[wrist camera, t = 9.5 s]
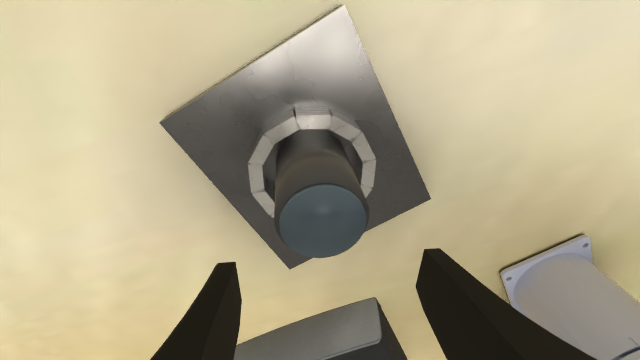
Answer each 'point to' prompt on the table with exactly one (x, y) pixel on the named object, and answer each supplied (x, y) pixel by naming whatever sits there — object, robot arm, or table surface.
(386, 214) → the metal base plate
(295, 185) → the blue-grey cylinder
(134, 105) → the table surface
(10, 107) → the table surface
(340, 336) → the external hard drive
